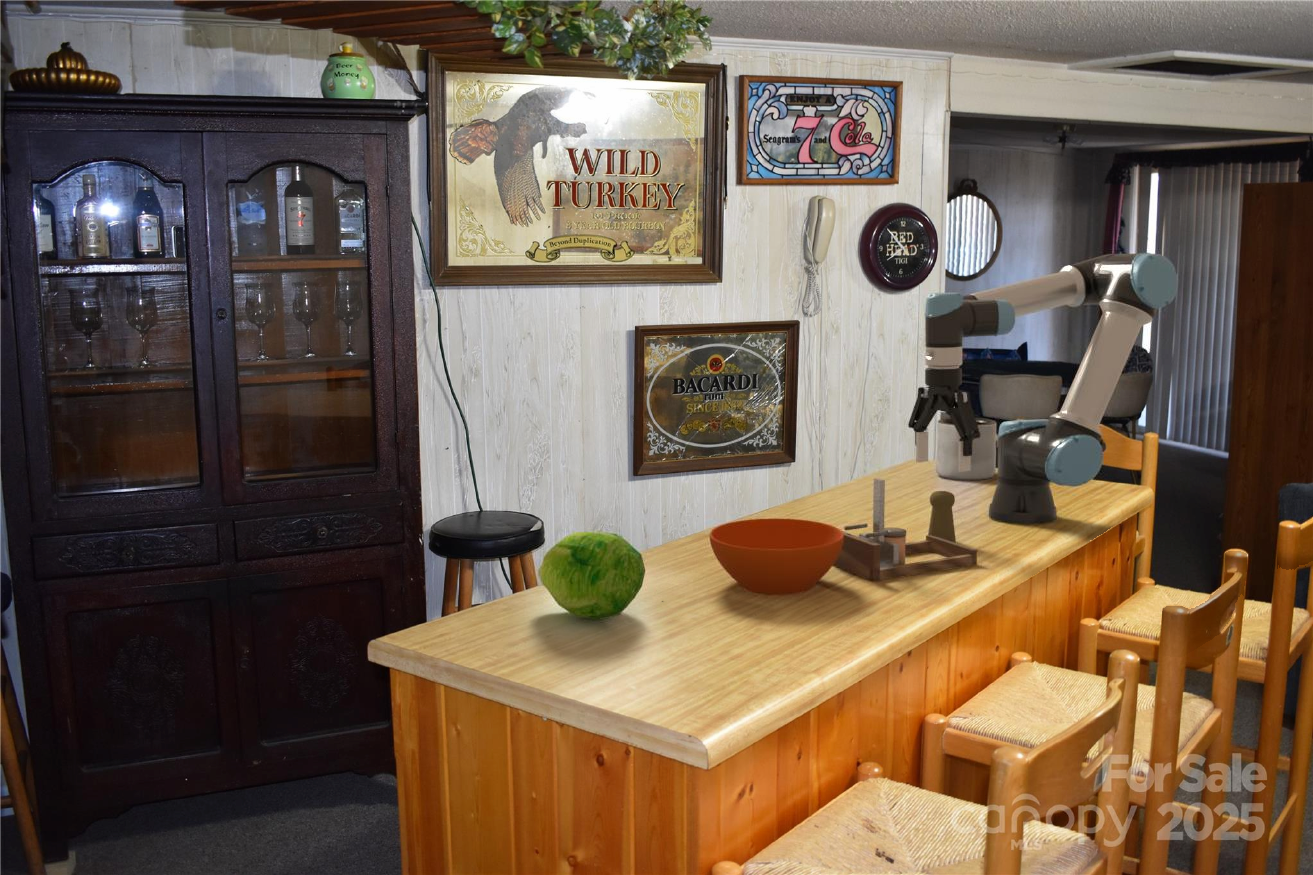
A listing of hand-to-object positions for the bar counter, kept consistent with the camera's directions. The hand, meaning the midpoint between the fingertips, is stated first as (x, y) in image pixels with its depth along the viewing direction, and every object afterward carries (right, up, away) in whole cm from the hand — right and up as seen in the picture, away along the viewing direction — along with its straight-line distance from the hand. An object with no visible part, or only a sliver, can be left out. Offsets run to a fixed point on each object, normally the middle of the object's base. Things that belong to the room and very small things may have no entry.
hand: (942, 466), depth 244 cm
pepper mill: (0, -16, +3) cm, 17 cm away
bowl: (-38, -22, -27) cm, 52 cm away
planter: (+25, -5, +76) cm, 80 cm away
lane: (-12, -19, -15) cm, 27 cm away
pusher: (-17, -19, -17) cm, 31 cm away
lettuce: (-73, -25, -44) cm, 88 cm away
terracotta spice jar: (-14, -19, -16) cm, 29 cm away
